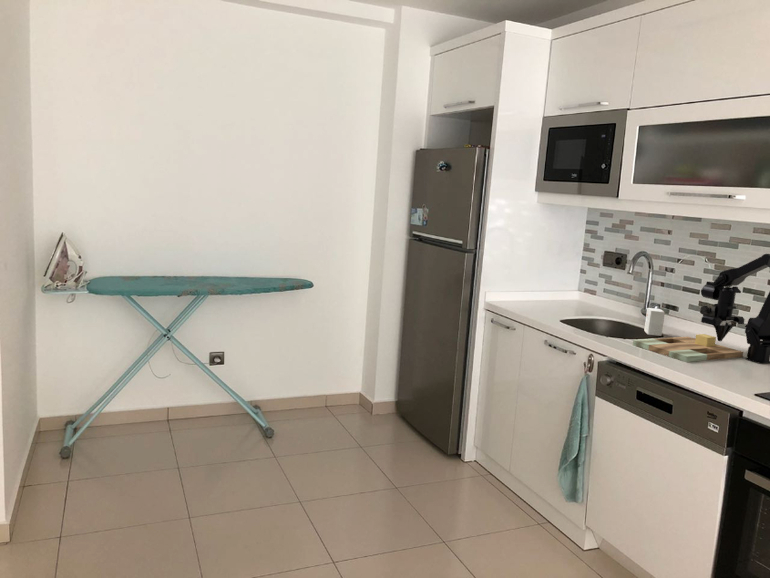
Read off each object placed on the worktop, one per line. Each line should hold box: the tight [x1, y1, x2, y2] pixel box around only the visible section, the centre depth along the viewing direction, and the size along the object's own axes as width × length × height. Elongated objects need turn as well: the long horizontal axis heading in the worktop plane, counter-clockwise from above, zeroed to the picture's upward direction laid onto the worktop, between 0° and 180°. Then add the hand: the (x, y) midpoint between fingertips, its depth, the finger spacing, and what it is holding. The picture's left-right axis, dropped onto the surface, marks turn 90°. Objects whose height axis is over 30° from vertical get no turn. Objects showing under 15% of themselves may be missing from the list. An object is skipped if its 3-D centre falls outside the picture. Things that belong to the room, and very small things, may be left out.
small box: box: [644, 307, 666, 337], centre depth 268 cm, size 8×6×10 cm
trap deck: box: [632, 336, 744, 363], centre depth 241 cm, size 24×32×2 cm
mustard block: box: [695, 333, 717, 346], centre depth 245 cm, size 5×5×4 cm
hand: (719, 341), depth 249 cm, fingers closed
